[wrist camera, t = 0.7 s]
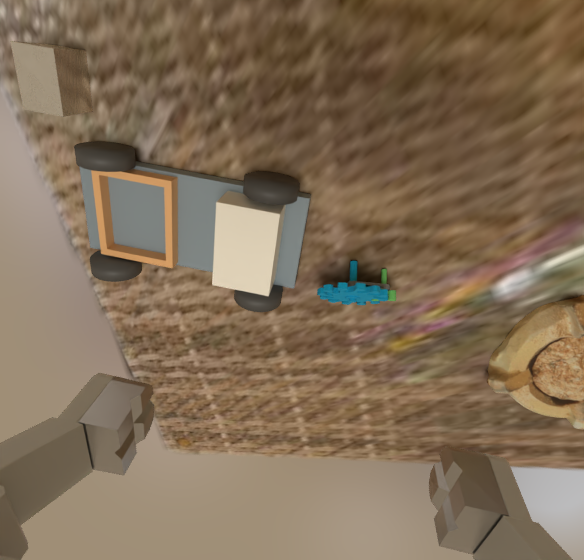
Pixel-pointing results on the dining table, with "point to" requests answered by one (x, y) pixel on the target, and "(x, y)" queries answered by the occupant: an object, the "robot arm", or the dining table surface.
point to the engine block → (52, 78)
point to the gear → (358, 290)
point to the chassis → (192, 223)
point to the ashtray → (545, 361)
